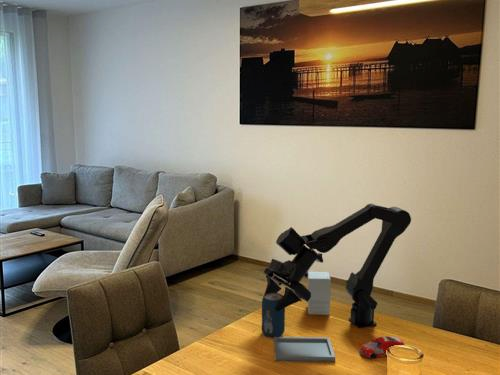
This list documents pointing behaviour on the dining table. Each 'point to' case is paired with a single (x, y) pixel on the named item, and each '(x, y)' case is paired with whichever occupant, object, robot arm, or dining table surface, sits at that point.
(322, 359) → the tray
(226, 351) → the dining table surface
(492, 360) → the dining table surface
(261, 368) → the dining table surface
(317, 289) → the supplement box
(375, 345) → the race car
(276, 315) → the soda can
